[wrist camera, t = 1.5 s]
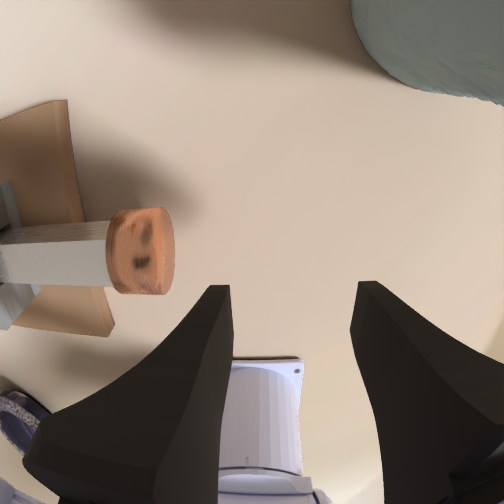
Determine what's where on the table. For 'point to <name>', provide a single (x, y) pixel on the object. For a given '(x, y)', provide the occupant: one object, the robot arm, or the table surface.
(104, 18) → the table surface
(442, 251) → the table surface
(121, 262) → the shaft
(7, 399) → the dish
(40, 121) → the stand
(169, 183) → the table surface
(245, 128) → the table surface
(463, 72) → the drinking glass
